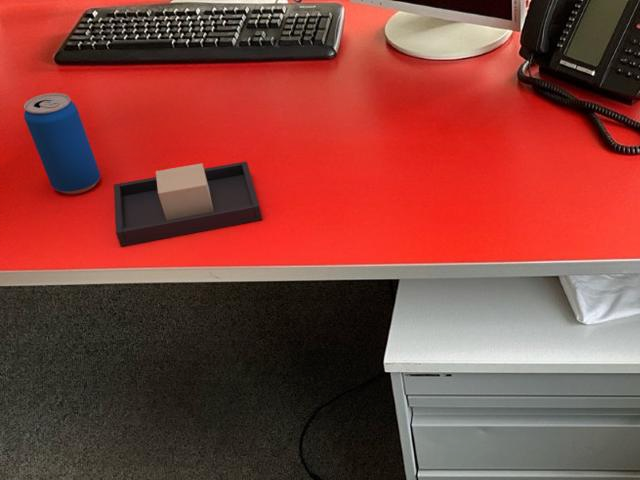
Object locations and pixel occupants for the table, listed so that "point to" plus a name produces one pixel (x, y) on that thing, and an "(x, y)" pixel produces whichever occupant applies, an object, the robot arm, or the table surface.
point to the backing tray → (150, 222)
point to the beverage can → (61, 143)
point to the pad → (184, 191)
